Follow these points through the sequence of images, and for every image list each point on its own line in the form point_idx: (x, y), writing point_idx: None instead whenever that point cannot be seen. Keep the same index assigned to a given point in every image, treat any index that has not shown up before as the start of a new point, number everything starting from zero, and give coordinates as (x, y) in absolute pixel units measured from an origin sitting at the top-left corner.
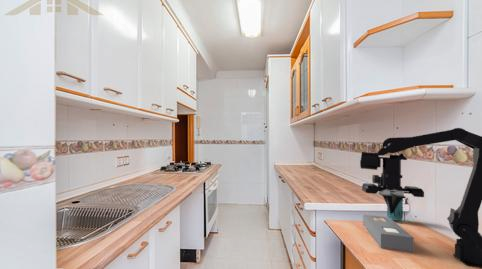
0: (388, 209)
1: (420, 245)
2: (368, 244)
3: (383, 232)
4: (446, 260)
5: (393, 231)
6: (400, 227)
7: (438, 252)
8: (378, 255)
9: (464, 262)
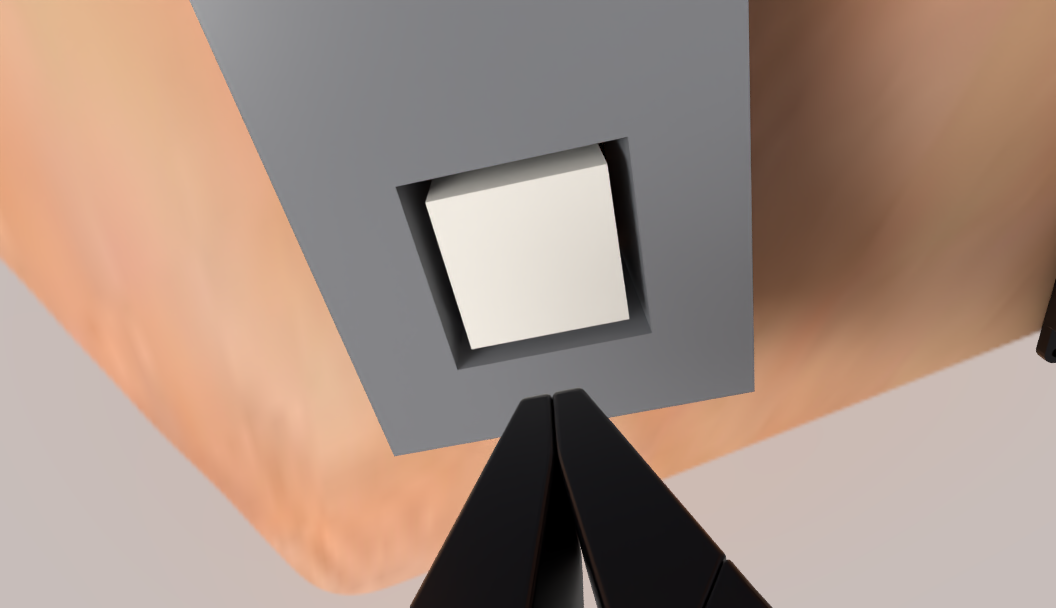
0: (498, 450)
1: (875, 49)
2: (304, 328)
3: (423, 411)
4: (924, 327)
5: (556, 301)
6: (728, 30)
7: (973, 173)
8: (398, 484)
9: (1046, 347)
